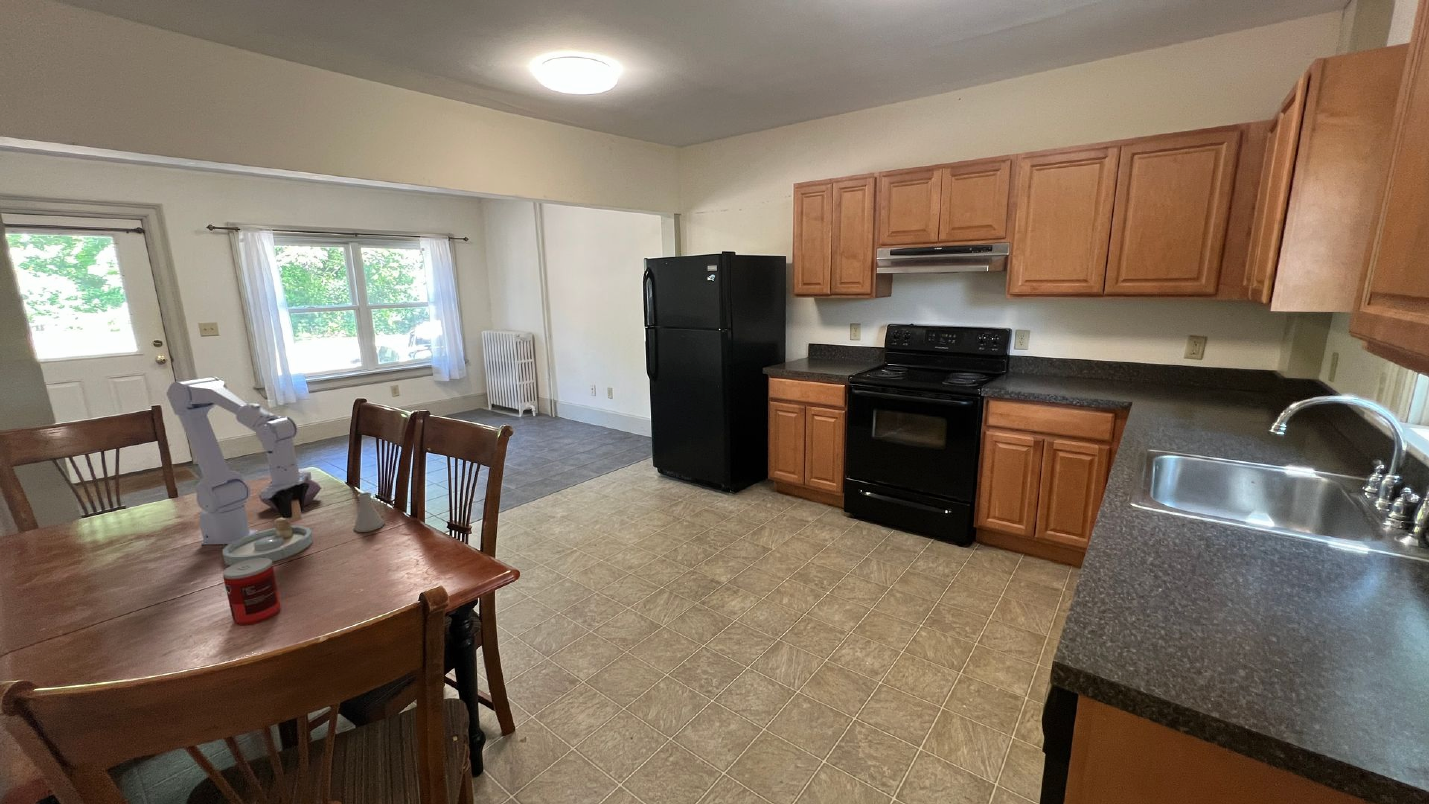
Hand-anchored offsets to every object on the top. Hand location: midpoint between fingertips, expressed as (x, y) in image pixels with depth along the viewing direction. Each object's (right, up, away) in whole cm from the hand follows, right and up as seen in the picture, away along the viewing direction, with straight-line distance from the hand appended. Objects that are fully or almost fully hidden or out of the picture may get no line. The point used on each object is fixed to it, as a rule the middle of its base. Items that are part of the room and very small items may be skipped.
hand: (292, 514), depth 146 cm
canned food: (+16, -15, -31) cm, 38 cm away
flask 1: (-23, -3, +30) cm, 38 cm away
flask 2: (+13, -6, +11) cm, 18 cm away
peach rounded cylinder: (0, -1, 0) cm, 1 cm away
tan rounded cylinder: (-5, -7, +4) cm, 10 cm away
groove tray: (-5, -9, -1) cm, 10 cm away
